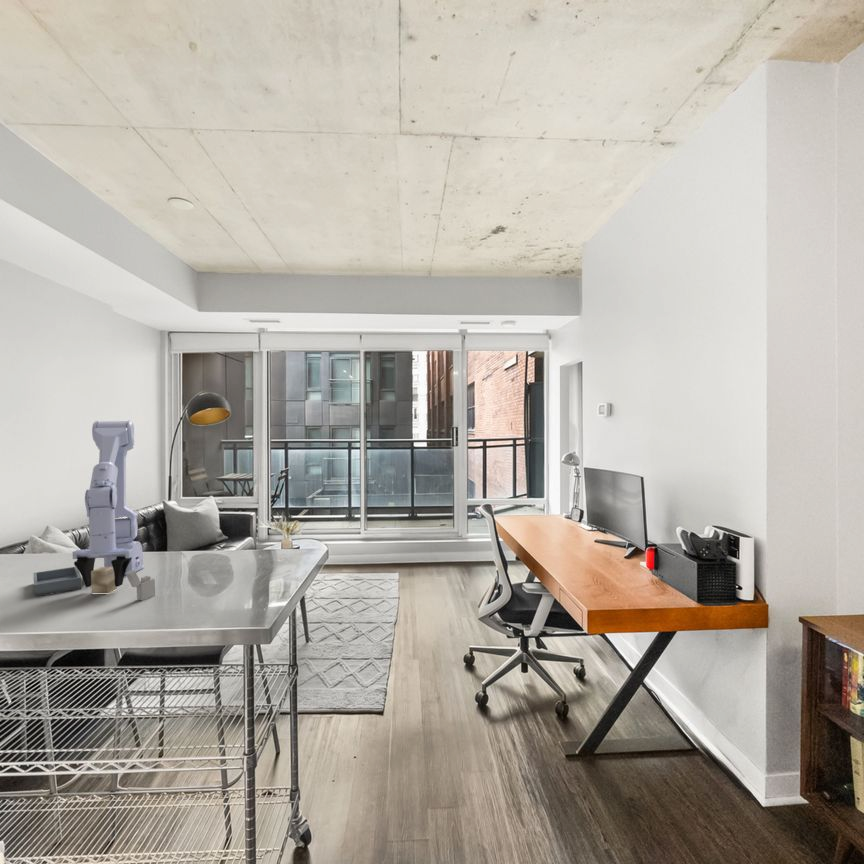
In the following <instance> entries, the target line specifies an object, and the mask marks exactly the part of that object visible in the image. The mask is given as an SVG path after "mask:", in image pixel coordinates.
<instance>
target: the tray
mask: <svg viewBox="0 0 864 864" xmlns="http://www.w3.org/2000/svg"><path fill="white" fill-rule="evenodd" d="M82 587H83V586H82V575H81V573H80V572H79V570H78V569H77V567H76V566H71V567H63V568H56V569H51V570H44V571H43V570H42V571H37V572H33V595H34V597H35V596H37V597H40V596H39V595H42V596H46V595H45V594H48V595H52V594H51V593H54V594H58V593H57V592H60V593H66V592H71V591H70V590H72V591H76V589H78V590H81V589H80V588H82ZM65 591H66V592H65ZM35 598H36V597H35Z"/></svg>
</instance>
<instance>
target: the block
mask: <svg viewBox="0 0 864 864" xmlns="http://www.w3.org/2000/svg"><path fill="white" fill-rule="evenodd" d="M90 587H91V594H92V593H109V592H111V591H113V590H115V589H117V587H115V577H114V570H113V567H104V566H100V567H97V568H96V569H94V570H93V571H91V586H90ZM117 590H118V589H117ZM115 591H116V590H115ZM113 592H114V591H113ZM111 593H112V592H111ZM109 594H110V593H109Z"/></svg>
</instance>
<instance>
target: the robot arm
mask: <svg viewBox="0 0 864 864" xmlns="http://www.w3.org/2000/svg"><path fill="white" fill-rule="evenodd" d="M91 426H92V429H91V433H92V440H93V442H94V443H95V445H96V447H97V449H98V450H99V455H98V457H99V458H98V459H99V461H98V463H97V464H96V465H94V466H93V468H92V474H91V478H90V479H91V480H90V485H89V489H86V490H85V494H84V503H85V509H86V516H87V518H88V531H89V534H88V535H89V548H88V549H87V548H86V549H76V550H73V551H72V560H75V561H74V562H73V565H74V567H77V569H78V570H79V573H80V576H81V579H82V580H83V583H84V586H85V588H90V587H92V586H91V571H93V570H95V569H94V568H95V561H96V559H103V564H104V565H103V567H113V570H114V577H115V587H120V586H123V583H124V578H125V576H126V573H127V572H128V571H129V570H134V571H135V572H136V573H137V572H139V571H140V570H142V569H144V568H145V565H144V561H143V559H144V558H143V546H142V543H141V542H140V541H136V540H135V541H134V539H136V538H137V536H138V530H139V529H138V520H137V519H138V518H137V514H136V512H135V511H134V510H132V509H131V508H128V506H127V496H126V495H127V492H126V491H127V484H126V483H127V482H126V481H127V473H126V471H127V470H126V467H127V466H126V463H127V462H126V461H127V460H126V459H127V454H128V451H131V450H132V449H134V446H135V424H134V423H133V422H132V421H131V420H116V421H115V420H114V421H113V420H112V421H110V420H108V421H107V420H106V421H102V420H100V421H98V420H95V421H94V422H93V423H92V425H91ZM123 517H124V518H123Z"/></svg>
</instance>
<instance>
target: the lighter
mask: <svg viewBox="0 0 864 864" xmlns="http://www.w3.org/2000/svg"><path fill="white" fill-rule="evenodd" d="M125 576H126V578H127V580H128V582H129V585H130V586H131V587H133V588H136V601H139V600H143V601H145V600H148V599H150V597H151V598H153V597H155V596H156V578H152V577H151V575H146V576H142V577H140V578H139V576H138V574H137V571H136V572H135V571H134V570H129V571H128V572H127V573H126V575H125ZM147 598H148V599H147ZM144 599H145V600H144Z"/></svg>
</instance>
